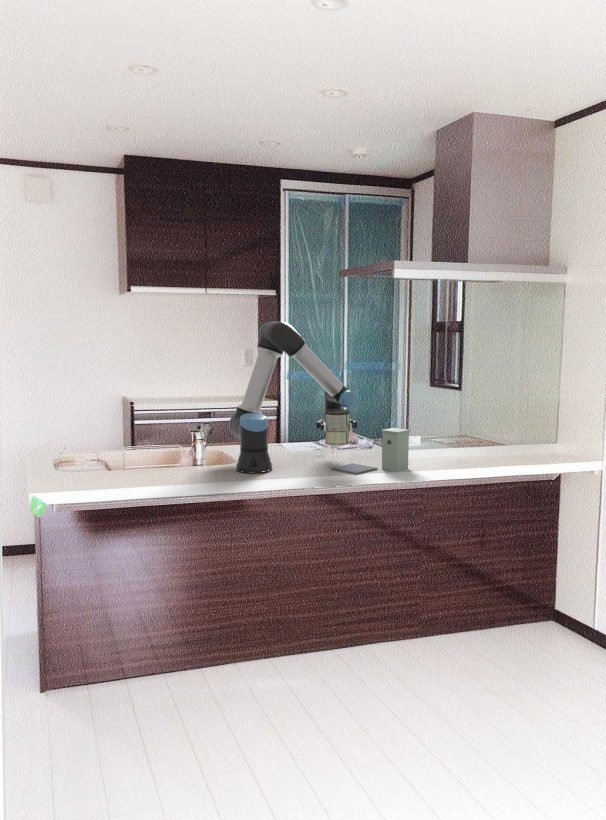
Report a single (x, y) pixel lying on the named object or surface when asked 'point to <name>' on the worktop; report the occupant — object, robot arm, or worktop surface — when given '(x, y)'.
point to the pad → (354, 468)
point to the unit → (395, 449)
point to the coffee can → (337, 427)
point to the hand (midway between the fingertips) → (338, 427)
